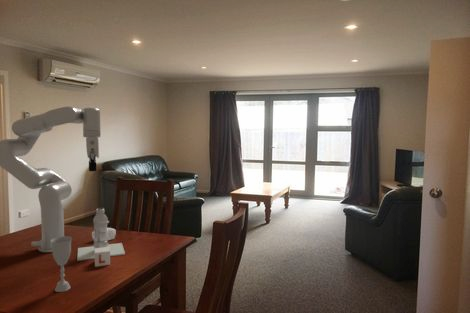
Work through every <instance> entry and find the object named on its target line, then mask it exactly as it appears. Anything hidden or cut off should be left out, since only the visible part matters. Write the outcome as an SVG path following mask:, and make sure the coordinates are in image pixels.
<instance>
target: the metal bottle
mask: <svg viewBox="0 0 470 313" xmlns="http://www.w3.org/2000/svg"><path fill="white" fill-rule="evenodd" d="M95 210H96V212H95V213H96V214H95V216H94V218H93V227H94V229H93V230H94V231H95V239H94V240H93V246H94V249H95V248H102V247H108V244H109V242H108V240H107V228H108V223H107V221H109V219H108V216H107V215H106V214H105V212H106V210H105V207H98V208H96V209H95Z"/></svg>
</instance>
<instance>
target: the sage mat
mask: <svg viewBox="0 0 470 313" xmlns="http://www.w3.org/2000/svg"><path fill="white" fill-rule="evenodd" d="M108 247H109V248H110V257H115V256H116V257H117V256H122V255H123V256H125V255H126V251H125V249H124V246H123V243H122V242H119V243H108ZM76 259H77V262H78V261H86V260H93V259H94V260H95V249H94V245H91V246H85V247H84V246H83V247H78V248H77V257H76Z"/></svg>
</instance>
